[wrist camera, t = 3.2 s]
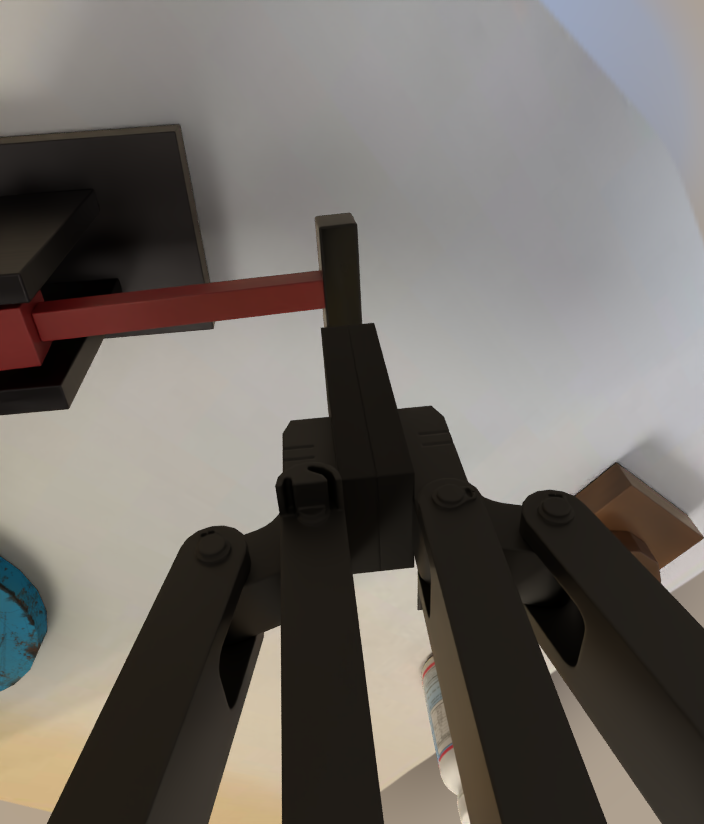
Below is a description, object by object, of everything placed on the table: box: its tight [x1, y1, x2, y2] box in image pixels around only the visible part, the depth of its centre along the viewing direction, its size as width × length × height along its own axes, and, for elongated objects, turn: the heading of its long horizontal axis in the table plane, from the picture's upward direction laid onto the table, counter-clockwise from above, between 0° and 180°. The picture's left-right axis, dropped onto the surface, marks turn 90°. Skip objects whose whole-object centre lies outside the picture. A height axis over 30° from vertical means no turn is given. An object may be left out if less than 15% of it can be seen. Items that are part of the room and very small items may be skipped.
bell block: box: [575, 463, 704, 583], centre depth 43 cm, size 12×8×4 cm, turn 141°
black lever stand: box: [0, 124, 215, 415], centre depth 25 cm, size 12×9×11 cm
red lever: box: [0, 213, 362, 371], centre depth 23 cm, size 14×5×2 cm, turn 93°
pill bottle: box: [422, 656, 470, 824], centre depth 46 cm, size 6×6×11 cm
